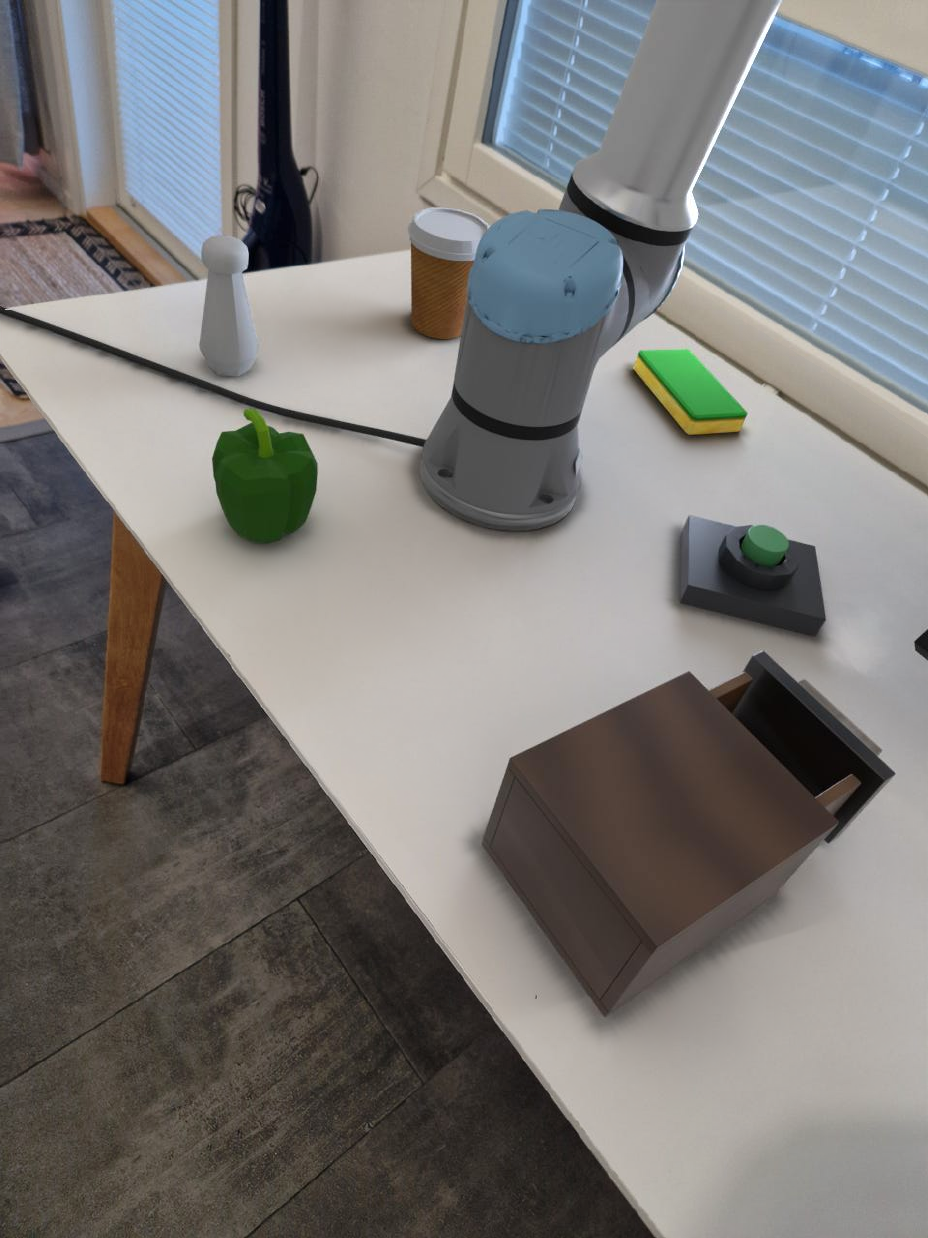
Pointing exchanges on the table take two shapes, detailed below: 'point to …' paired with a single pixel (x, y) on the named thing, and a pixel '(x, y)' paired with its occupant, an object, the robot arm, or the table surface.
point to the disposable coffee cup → (442, 268)
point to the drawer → (807, 737)
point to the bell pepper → (264, 479)
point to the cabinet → (649, 835)
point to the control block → (749, 578)
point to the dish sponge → (689, 391)
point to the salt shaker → (227, 308)
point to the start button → (764, 545)
